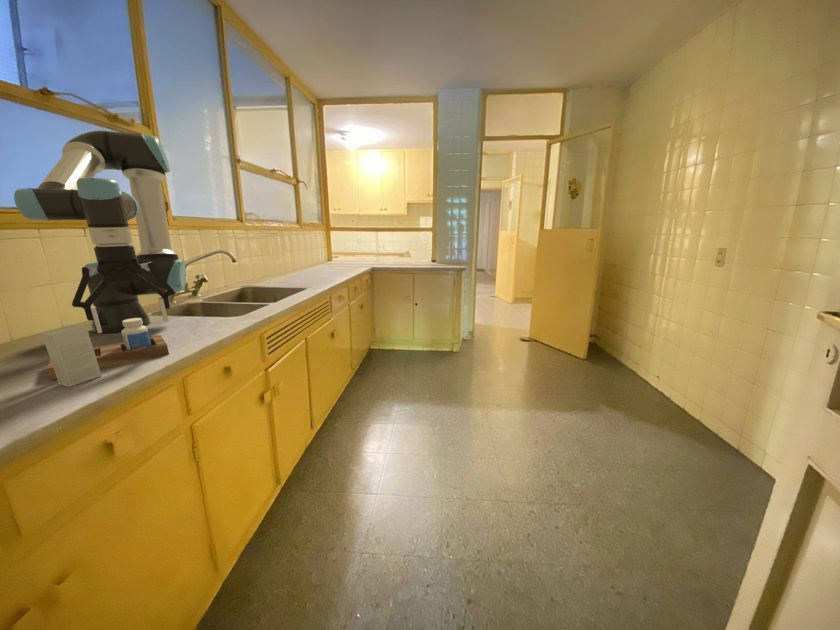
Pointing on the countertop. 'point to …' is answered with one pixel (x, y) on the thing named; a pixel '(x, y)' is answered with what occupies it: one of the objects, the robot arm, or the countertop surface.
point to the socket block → (123, 354)
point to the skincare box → (72, 355)
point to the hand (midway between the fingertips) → (134, 326)
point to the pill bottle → (135, 334)
